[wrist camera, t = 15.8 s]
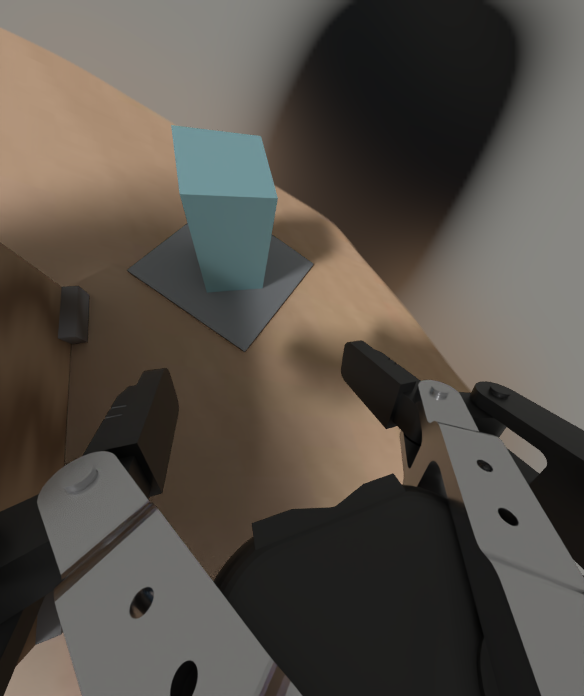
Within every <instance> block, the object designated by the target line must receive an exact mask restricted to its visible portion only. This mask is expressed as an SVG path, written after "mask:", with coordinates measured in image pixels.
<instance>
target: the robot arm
mask: <svg viewBox="0 0 584 696" xmlns="http://www.w3.org/2000/svg"><path fill="white" fill-rule="evenodd" d="M341 374H342V377H343V379H344V381H345V382H346V383H347V384H348V385H349V387H350V388H351V389H352V390H353V391H354V392H355V393H356V395H357V396H358V397H359V398H360V399H361V400H362V402H363V403H364V404H365V405H366V406H367V407H368V409H369V410H370V411H371V412H372V413H373V414H374V416H375V417H376V418H377V419H378V420H379V421H380V422H381V424H382V425H383V426H384V427H385V428H386V429H388V428H392V427H395V426H398V427H399V428H400V429H401V432H400V444H401V453H402V463H403V472H404V479H403V485H401V483H400V482H399V481H398V479H397V478H396V477H395V475H394V474H390V475H387V476H385V477H382V478H379V479H376V480H373V481H370V482H368V483H365V484H363V485H362V486H360V487H359V488H358V489H357V490H355V491H354V492H353V493H352V494H350V495H349V496H348V497H347V498H346V499H344V500H343V501H342V502H341V503H339V504H338V505H337V506H335V507H331V508H309V509H291V510H288V511H286V512H283V513H280V514H277V515H274V516H271V517H269V518H266V519H263V520H260V521H257V522H254V523H252V528H253V537H252V538H251V539H250V540H248V541H247V542H246V543H244V544H243V545H242V546H241V547H240V548H239V549H238V550H237V551H236V552H235V553H234V554H233V555H232V556H231V557H230V559H229V560H228V561H227V562H226V563H225V565H224V566H223V567H222V569H221V570H220V572H219V573H218V575H217V576H216V578H215V579H214V581H212V580H211V578H210V577H209V576H208V574H207V573H206V572H205V570H204V569H203V568H202V566H201V565H200V564H199V562H198V561H197V560H196V558H195V557H194V556H193V554H192V553H191V552H190V550H189V549H188V548H187V547H186V545H185V544H184V543H183V541H182V540H181V539H180V537H179V536H178V535H177V533H176V532H175V531H174V529H173V528H172V527H171V525H170V524H169V523H168V521H167V520H166V519H165V517H164V516H163V515H162V513H161V512H160V511H159V510H158V508H157V507H156V506H155V505H154V504H153V503H150V501H149V500H148V498H149V497H151V496H154V495H158V494H161V493H162V492H163V487H164V482H165V477H166V472H167V467H168V462H169V457H170V452H171V447H172V442H173V437H174V432H175V427H176V422H177V417H178V411H179V405H178V399H177V395H176V392H175V389H174V386H173V382H172V379H171V376H170V373H169V371H168V369H167V368H162V369H155V370H148V371H144V372H143V374H142V375H141V377H140V379H139V381H138V383H137V385H134V386H129V387H128V388H127V389H126V390H124V391H123V392H122V393H121V394H120V395H119V396H117V398H116V400H115V401H114V403H113V405H112V406H111V410H109V412H108V413H107V415H106V419H104V420H103V422H102V424H101V425H100V427H99V429H98V430H97V432H96V434H95V435H94V437H93V439H92V441H91V442H90V444H89V446H88V447H87V449H86V451H85V452H84V454H83V456H82V457H80V458H78V459H76V460H74V461H72V462H70V463H69V464H67V465H66V466H64V467H63V468H61V469H60V470H59V471H58V472H56V473H55V474H54V475H53V476H52V477H51V478H50V479H49V480H48V481H47V482H46V484H45V485H44V486H43V488H42V489H41V491H40V493H39V494H37V495H35V496H33V497H31V498H29V499H27V500H25V501H23V502H20V503H18V504H16V505H14V506H12V507H9V508H7V509H5V510H3V511H1V512H0V696H4V693H5V691H6V688H7V686H8V684H9V681H10V679H11V676H12V674H13V672H14V669H15V667H16V664H17V662H18V660H19V657H20V655H21V653H22V650H23V648H24V645H25V643H26V641H27V638H28V636H29V633H30V631H31V629H32V626H33V624H34V621H35V619H36V617H37V614H38V612H39V609H40V607H41V605H42V602H43V600H44V598H45V595H47V594H48V593H50V592H51V591H53V590H54V601H55V605H56V609H57V613H58V616H59V619H60V623H61V626H62V630H63V633H64V636H65V640H66V643H67V646H68V650H69V653H70V657H71V660H72V663H73V667H74V670H75V674H76V677H77V680H78V684H79V687H80V691H81V694H82V696H584V576H583V575H582V574H581V572H580V571H579V569H578V567H577V566H576V564H575V562H577V563H578V564H579V565H580V566H581V567H582V568H583V569H584V431H583V430H582V429H580V428H578V427H576V426H574V425H573V424H571V423H569V422H567V421H566V420H564V419H562V418H560V417H559V416H557V415H555V414H553V413H551V412H550V411H548V410H546V409H544V408H543V407H541V406H539V405H537V404H536V403H534V402H532V401H530V400H528V399H527V398H525V397H523V396H521V395H520V394H518V393H516V392H514V391H513V390H511V389H509V388H506V387H504V386H502V385H499V384H496V383H492V382H478V383H476V385H475V386H474V388H473V390H472V392H471V393H465V392H458V391H456V390H455V389H454V388H452V387H451V386H449V385H447V384H445V383H442V382H439V381H434V380H423V381H420V380H419V379H417V378H416V377H415V376H413V375H412V374H411V373H409V372H408V371H406V370H405V369H404V368H402V367H401V366H400V365H398V364H396V362H394V361H393V360H390V358H389V357H387V356H386V355H385V354H383V353H382V352H379V351H377V350H375V349H373V348H372V347H370V346H369V345H368V344H366V343H365V342H364V341H353V342H347V343H346V344H345V347H344V353H343V359H342V366H341ZM506 427H508V428H509V429H510V430H512V431H513V432H515V433H516V434H517V435H519V436H520V437H522V438H523V439H525V440H526V441H528V442H529V443H530V444H531V445H533V446H535V447H536V448H537V449H539V450H540V451H541V452H542V453H543V454H544V456H545V457H546V459H547V466H546V468H545V469H544V470H543V471H542V472H541V473H540V474H539V473H538V472H536V471H535V470H534V469H533V468H531V467H530V466H529V465H527V464H526V463H525V462H524V461H522V460H521V459H520V458H518V457H517V456H516V455H515V454H514V453H512V452H511V451H510V450H509V449H507V448H506V447H505V445H504V443H503V442H502V440H501V439H500V438H499V437H500V435H501V434H502V432H503V431H504V429H505V428H506ZM574 561H575V562H574Z"/></svg>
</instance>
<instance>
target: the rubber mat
mask: <svg viewBox="0 0 584 696" xmlns="http://www.w3.org/2000/svg"><path fill="white" fill-rule="evenodd" d="M312 266H313V263H312V262H310V261H309V260H307V259H306V258H305V257H303V256H302V255H300V254H299V253H298V252H296V251H295V250H293V249H292V248H290V247H289V246H288V245H286V244H285V243H283V242H282V241H280V240H279V239H278V238H276V237H275V236H273V235H271V241H270V247H269V253H268V259H267V265H266V271H265V276H264V282H263V288H260V289H247V290H234V291H221V292H208V293H207V291H206V288H205V284H204V281H203V277H202V273H201V270H200V266H199V262H198V259H197V255H196V251H195V248H194V244H193V240H192V237H191V233H190V230H189V226H188V223H187V224H186V225H185V226H183V227H182V228H181V229H179V230H178V231H177V232H175V233H174V234H173V235H172V236H170V237H169V238H168V239H166V240H165V241H164V242H163V243H161V244H160V245H159V246H157V247H156V248H155V249H153V250H152V251H151V252H150V253H148V254H147V255H146V256H144V257H143V258H142V259H141V260H139V261H138V262H137V263H135V264H134V265H133V266H132V267H130V268H129V269H128V270H127V271H128V272H130V273H131V274H132V275H134V276H135V277H137V278H138V279H140V280H141V281H143V282H144V283H145V284H147V285H148V286H150V287H151V288H153V289H154V290H156V291H157V292H159V293H160V294H161V295H163V296H164V297H166V298H167V299H169V300H170V301H172V302H173V303H174V304H176V305H177V306H179V307H180V308H182V309H183V310H185V311H186V312H188V313H189V314H190V315H192V316H193V317H195V318H196V319H198V320H199V321H201V322H202V323H203V324H205V325H206V326H208V327H209V328H211V329H212V330H214V331H215V332H216V333H218V334H219V335H221V336H222V337H224V338H225V339H227V340H228V341H230V342H231V343H232V344H234V345H235V346H237V347H238V348H240V349H241V350H243V351H244V352H245V351H246V350H247V349H248V347H249V346H250V345H251V343H252V342H253V341H254V340H255V338H256V337H257V336H258V335H259V333H260V332H261V331H262V329H263V328H264V327H265V326H266V324H267V323H268V322H269V321H270V319H271V318H272V317H273V315H274V314H275V313H276V312H277V310H278V309H279V308H280V307H281V305H282V304H283V303H284V301H285V300H286V299H287V298H288V296H289V295H290V294H291V293H292V291H293V290H294V289H295V287H296V286H297V285H298V284H299V282H300V281H301V280H302V279H303V277H304V276H305V275H306V273H307V272H308V271H309V270H310V268H311V267H312Z"/></svg>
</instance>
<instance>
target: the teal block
mask: <svg viewBox="0 0 584 696" xmlns="http://www.w3.org/2000/svg"><path fill="white" fill-rule="evenodd" d="M171 126H172V135H173V143H174V151H175V159H176V167H177V175H178V184H179V192H180V197H181V200H182V204H183V208H184V211H185V215H186V219H187V222H188V226H189V230H190V233H191V237H192V240H193V244H194V248H195V251H196V255H197V259H198V262H199V266H200V270H201V273H202V277H203V281H204V284H205V288H206V291H207V293H208V292H221V291H234V290H247V289H260V288H263V282H264V276H265V271H266V265H267V259H268V253H269V247H270V241H271V235H272V229H273V223H274V217H275V211H276V205H277V199H278V198H277V194H276V190H275V187H274V183H273V179H272V176H271V172H270V168H269V165H268V161H267V157H266V154H265V150H264V146H263V142H262V139H261V137H260V136H254V135H246V134H238V133H230V132H222V131H214V130H205V129H198V128H189V127H181V126H173V125H171Z"/></svg>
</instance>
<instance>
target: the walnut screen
mask: <svg viewBox="0 0 584 696" xmlns="http://www.w3.org/2000/svg"><path fill="white" fill-rule="evenodd" d="M88 317H89V294H88V293H87V292H85V291H84V290H83V289H82V288H80V287H79V286H70V287H61V286H60V285H58V284H57V283H56V282H54V281H53V280H51V279H50V278H49V277H47V276H46V275H45V274H43V273H42V272H40V271H39V270H38V269H36V268H35V267H34V266H32V265H31V264H29V263H28V262H27V261H25V260H24V259H22V258H21V257H20V256H18V255H17V254H16V253H14V252H13V251H11V250H10V249H9V248H7V247H6V246H5V245H3V244H2V243H0V512H1V511H3V510H5V509H7V508H9V507H12V506H14V505H16V504H18V503H20V502H23V501H25V500H27V499H29V498H31V497H33V496H35V495H37V494H39V493H40V491H41V489H42V488H43V486H44V485H45V484H46V482H47V481H48V480H49V479H50V478H51V477H52V476H53V475H54V474H55V473H56V472H58V471H59V470H60V469H61V468H63V467H64V458H65V441H66V423H67V405H68V388H69V370H70V352H71V344H75V343H84V342H88ZM62 633H63V630H62V626H61V623H60V619H59V616H58V613H57V609H56V605H55V601H54V590H53V591H51V592H50V593H48V594H47V595H45V598H44V600H43V602H42V605H41V607H40V609H39V612H38V614H37V617H36V619H35V621H34V624H33V626H32V629H31V631H30V633H29V636H28V638H27V641H26V643H25V645H24V648H23V650H22V653H21V655H20V657H19V660H18V662H17V664H16V666H17V665H18V663H19V662H20V661H21V660H22V659H23V658H24V657H25V656H26V655H27V654H28V652H29V651H30V650H31V649H32V648H33V647H34V646H35V645H36V644H39V643H41V642H44V641H46V640H49V639H51V638H54V637H56V636H58V635H61V634H62Z"/></svg>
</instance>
